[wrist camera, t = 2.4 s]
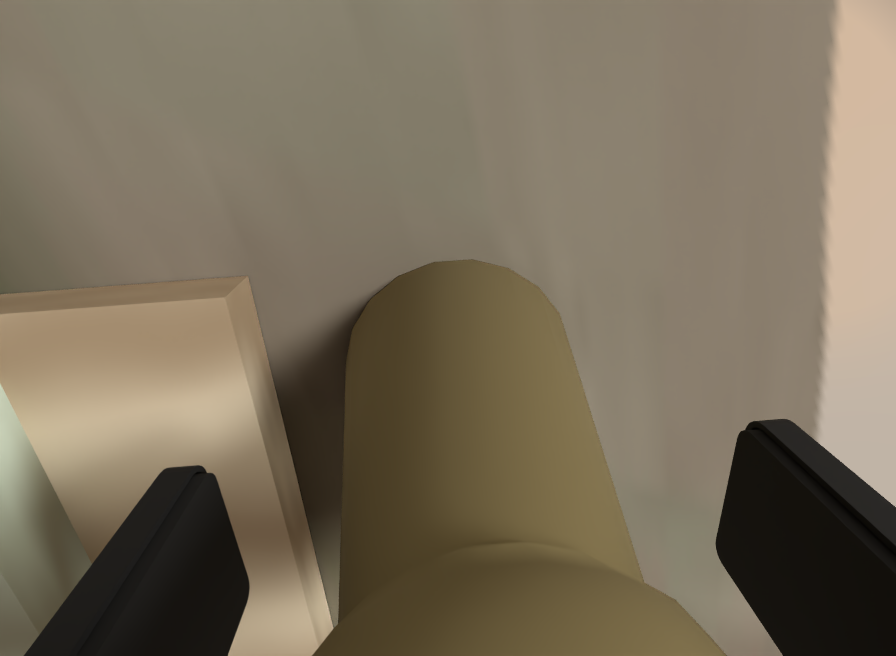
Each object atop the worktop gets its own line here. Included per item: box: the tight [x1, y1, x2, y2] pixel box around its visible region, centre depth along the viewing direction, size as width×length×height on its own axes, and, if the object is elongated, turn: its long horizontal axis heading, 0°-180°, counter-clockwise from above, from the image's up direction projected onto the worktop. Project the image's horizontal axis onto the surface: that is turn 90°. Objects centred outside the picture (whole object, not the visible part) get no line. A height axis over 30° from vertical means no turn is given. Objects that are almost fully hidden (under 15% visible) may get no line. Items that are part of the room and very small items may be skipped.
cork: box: [312, 260, 727, 656], centre depth 8 cm, size 6×6×11 cm
